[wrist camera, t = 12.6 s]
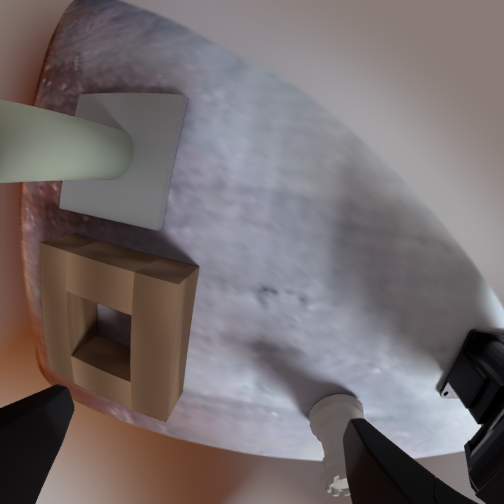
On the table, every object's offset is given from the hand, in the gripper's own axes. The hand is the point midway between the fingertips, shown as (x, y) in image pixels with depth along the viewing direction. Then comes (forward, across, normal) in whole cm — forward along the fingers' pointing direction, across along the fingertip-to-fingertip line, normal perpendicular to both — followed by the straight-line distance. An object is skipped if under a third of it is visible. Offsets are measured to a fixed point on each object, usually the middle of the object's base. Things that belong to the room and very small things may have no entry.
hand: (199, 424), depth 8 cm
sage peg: (+13, +9, -8) cm, 18 cm away
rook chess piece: (+12, -9, +10) cm, 18 cm away
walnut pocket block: (+13, +8, +4) cm, 16 cm away
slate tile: (+14, +9, -8) cm, 18 cm away
